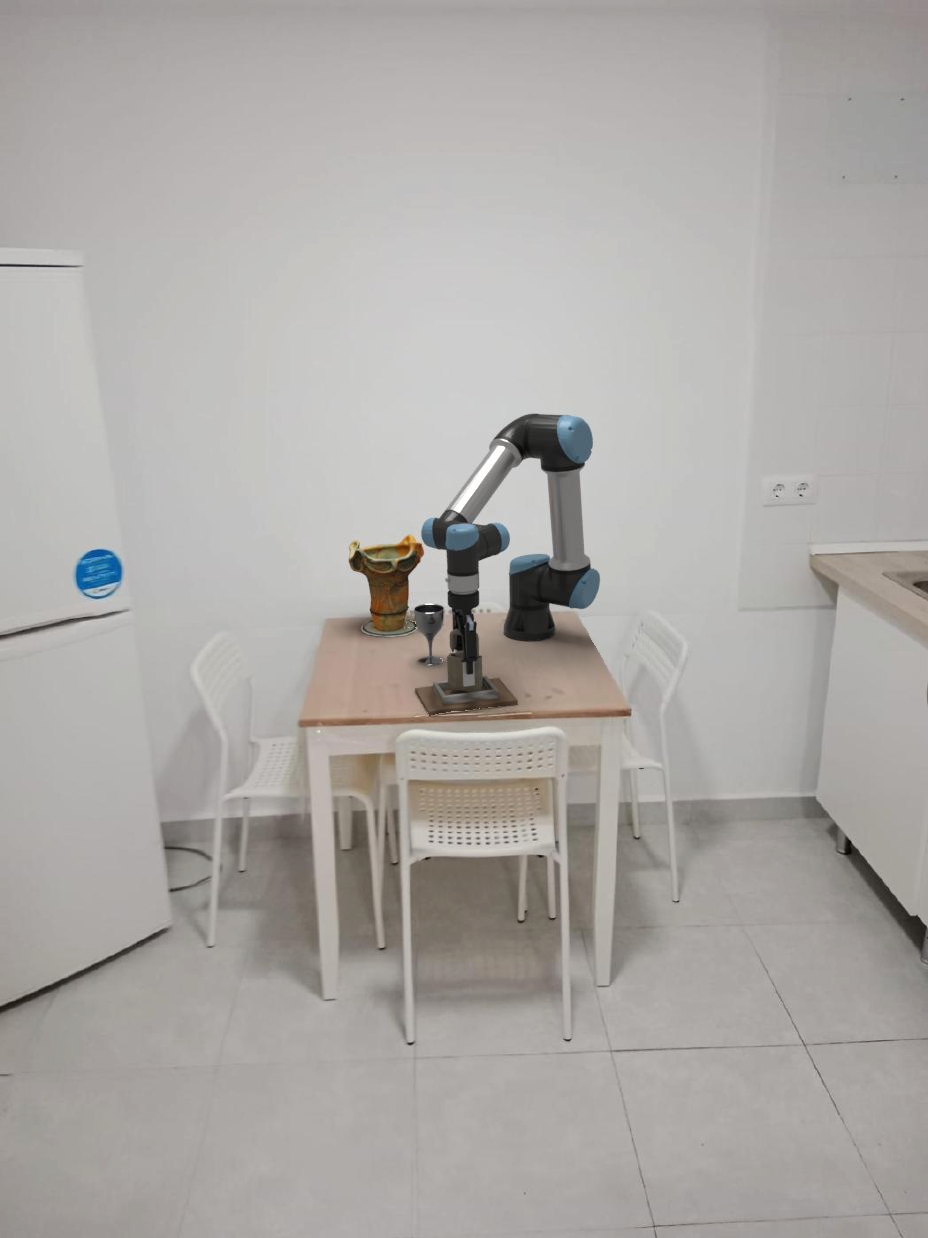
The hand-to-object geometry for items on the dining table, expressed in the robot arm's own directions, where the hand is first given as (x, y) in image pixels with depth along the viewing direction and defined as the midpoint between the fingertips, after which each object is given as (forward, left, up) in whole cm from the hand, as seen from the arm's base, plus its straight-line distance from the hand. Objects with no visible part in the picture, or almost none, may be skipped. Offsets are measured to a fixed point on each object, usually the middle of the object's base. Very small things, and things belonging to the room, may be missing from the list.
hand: (465, 680), depth 230 cm
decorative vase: (+7, -59, -5) cm, 60 cm away
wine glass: (+2, -28, -5) cm, 29 cm away
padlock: (0, 0, -2) cm, 2 cm away
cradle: (0, 0, -5) cm, 5 cm away
